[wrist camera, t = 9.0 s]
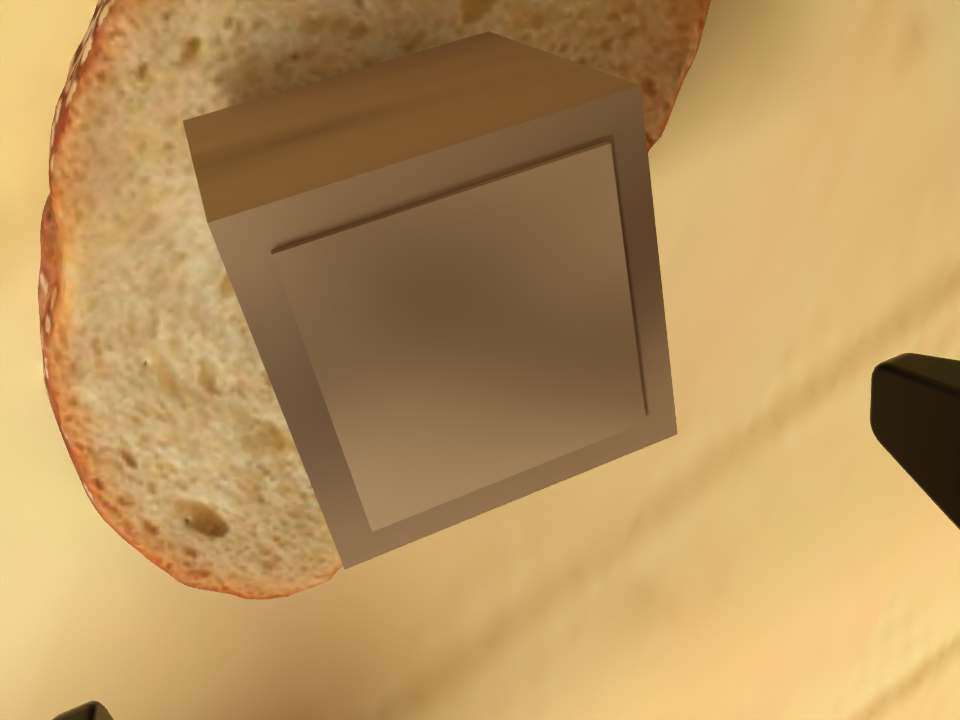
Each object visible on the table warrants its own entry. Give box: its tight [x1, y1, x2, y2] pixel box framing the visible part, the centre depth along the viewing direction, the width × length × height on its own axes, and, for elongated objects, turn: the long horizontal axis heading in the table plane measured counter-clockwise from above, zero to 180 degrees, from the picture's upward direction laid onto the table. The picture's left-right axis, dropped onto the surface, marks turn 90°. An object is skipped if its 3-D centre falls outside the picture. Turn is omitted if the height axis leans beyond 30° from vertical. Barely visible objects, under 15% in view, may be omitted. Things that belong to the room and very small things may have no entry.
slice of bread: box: [38, 0, 710, 599], centre depth 19 cm, size 18×18×4 cm
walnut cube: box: [183, 31, 677, 569], centre depth 15 cm, size 6×6×6 cm
